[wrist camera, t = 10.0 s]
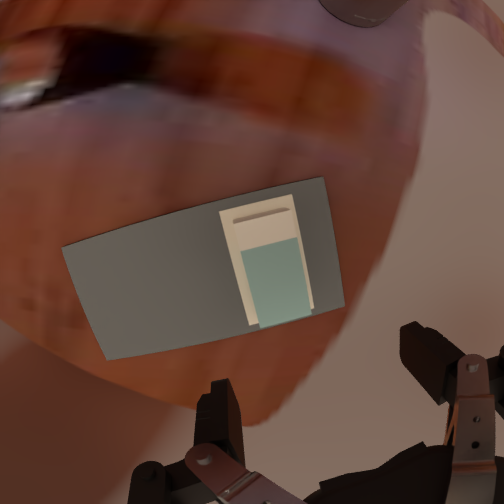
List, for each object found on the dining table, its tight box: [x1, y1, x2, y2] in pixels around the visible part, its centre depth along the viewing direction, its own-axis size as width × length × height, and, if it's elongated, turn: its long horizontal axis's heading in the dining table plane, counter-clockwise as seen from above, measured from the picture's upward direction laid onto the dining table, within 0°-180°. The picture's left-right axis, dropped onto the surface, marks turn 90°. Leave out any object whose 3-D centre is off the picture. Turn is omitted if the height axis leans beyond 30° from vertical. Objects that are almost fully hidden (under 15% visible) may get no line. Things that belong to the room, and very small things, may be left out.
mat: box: [61, 177, 345, 360], centre depth 29 cm, size 14×28×1 cm, turn 103°
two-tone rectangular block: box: [233, 207, 312, 328], centre depth 28 cm, size 5×10×3 cm, turn 13°
